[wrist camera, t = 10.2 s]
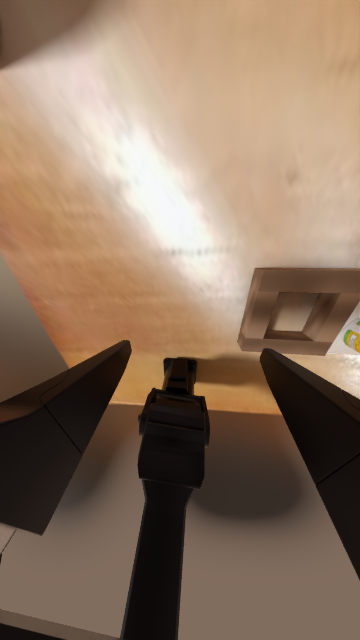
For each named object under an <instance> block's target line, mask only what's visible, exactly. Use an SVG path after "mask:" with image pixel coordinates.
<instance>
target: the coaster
mask: <svg viewBox="0 0 360 640" xmlns="http://www.w3.org/2000/svg"><path fill="white" fill-rule="evenodd" d="M358 318H360V302H359V303H358V305H357V306H356V308H355V309H354V311H353V312H352V314H351V316H350V317H349V319H348V320H347V322H346V323H345V325H344V326H343V328H342V330H341V331H340V333H339V334H338V336H337V337H336V339H335V340H334V342H333V344H332V345H331V347H330V348H329V350H328V351H327V353H329V354H347V355H360V353H358V352H357V351H355V350H353V349H352V348H350V347H348V346H347V345H345V344H344V343H343V342H342V340H341V334H342V331H343V330H344V328H345V327H346V326H347V325H348V324H349V323H351V322H352V321H354V320H356V319H358Z"/></svg>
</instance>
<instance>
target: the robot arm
mask: <svg viewBox="0 0 360 640" xmlns="http://www.w3.org/2000/svg"><path fill="white" fill-rule="evenodd" d="M131 352H132V349H131V345H130V341H129V340H123V341H121V342H119V343H117V344H115V345H113V346H111V347H109V348H108V349H106V350H104V351H102V352H100V353H98V354H96V355H94V356H93V357H91V358H89V359H87V360H85V361H83V362H81V363H79V364H77V365H76V366H74V367H72V368H70V369H68V370H66V371H64V372H62V373H60V374H59V375H57V376H55V377H53V378H51V379H49V380H47V381H45V382H43V383H40V384H38V385H37V386H34V387H32V388H30V389H28V390H26V391H24V392H22V393H19V394H17V395H15V396H13V397H11V398H9V399H7V400H5V401H2V402H1V403H0V562H1V557H2V552H3V550H4V549H5V547H6V546H7V544H8V542H9V541H10V539H11V538H12V536H13V535H14V533H15V531H19V532H24V533H29V534H34V535H40V536H42V535H43V533H44V531H45V529H46V528H47V526H48V524H49V522H50V520H51V518H52V516H53V514H54V511H55V510H56V508H57V506H58V504H59V501H60V500H61V497H62V496H63V494H64V492H65V490H66V488H67V486H68V484H69V482H70V480H71V478H72V476H73V474H74V472H75V470H76V468H77V466H78V464H79V461H80V460H81V458H82V456H83V453H84V451H85V449H86V447H87V445H88V443H89V441H90V439H91V437H92V435H93V433H94V431H95V429H96V427H97V425H98V423H99V421H100V420H101V418H102V415H103V413H104V411H105V410H106V408H107V406H108V404H109V402H110V400H111V398H112V396H113V394H114V392H115V390H116V388H117V386H118V384H119V382H120V380H121V378H122V375H123V373H124V371H125V369H126V366H127V363H128V360H129V358H130V355H131ZM163 363H164V376H165V377H164V382H163V386H162V390H160V389H156V388H152V391H151V392H150V393H149V394H148V397H147V400H146V403H145V405H144V407H143V409H142V410H141V412H140V414H139V416H138V422H139V424H140V425H139V436H143V437H142V442H141V446H140V451H139V456H138V473H139V478H140V479H142V484H143V490H144V495H145V505H144V510H143V515H142V521H141V526H140V532H139V538H138V543H137V548H136V554H135V559H134V565H133V571H132V576H131V582H130V587H129V592H128V597H127V603H126V608H125V614H124V619H123V625H122V630H121V636H120V638H116V637H112V636H108V635H104V634H99V633H96V632H91V631H87V630H83V629H79V628H75V627H71V626H67V625H63V624H59V623H54V622H50V621H46V620H42V619H38V618H34V617H30V616H25V615H22V614H18V613H14V612H9V611H5V610H1V609H0V640H178V626H179V610H180V595H181V579H182V564H183V547H184V532H185V516H186V507H187V505H188V503H189V501H190V499H191V497H192V494H193V492H194V490H195V489H200V487H201V484H202V481H203V479H204V458H205V447H206V448H207V447H208V444H209V436H210V424H209V416H208V411H207V406H206V401H205V397H204V396H196V395H194V384H195V380H196V367H197V362H196V361H195V360H182V359H164V361H163ZM260 363H261V365H262V368H263V371H264V374H265V377H266V380H267V383H268V385H269V387H270V389H271V391H272V394H273V396H274V398H275V400H276V402H277V404H278V406H279V409H280V411H281V413H282V415H283V417H284V419H285V421H286V424H287V426H288V428H289V430H290V432H291V434H292V436H293V438H294V441H295V442H296V445H297V447H298V449H299V451H300V453H301V456H302V458H303V460H304V462H305V464H306V466H307V468H308V471H309V473H310V475H311V477H312V479H313V481H314V483H315V484H316V488H317V490H318V492H319V494H320V496H321V499H322V501H323V503H324V505H325V507H326V509H327V511H328V514H329V516H330V518H331V520H332V522H333V524H334V526H335V528H336V530H337V533H338V535H339V537H340V539H341V541H342V543H343V546H344V548H345V550H346V552H347V554H348V556H349V558H350V560H351V562H352V565H353V567H354V569H355V571H356V573H357V575H358V578H359V580H360V399H358V398H356V397H355V396H353V395H351V394H349V393H348V392H346V391H344V390H341V388H339V387H337V386H335V385H334V384H332V383H330V382H328V381H327V380H325V379H323V378H322V377H320V376H318V375H316V374H315V373H313V372H311V371H309V370H308V369H306V368H304V367H303V366H301V365H299V364H297V363H296V362H294V361H292V360H290V359H289V358H287V357H285V356H283V355H282V354H280V353H278V352H277V351H275V350H273V349H271V348H264V349H263V350H262V353H261V356H260Z"/></svg>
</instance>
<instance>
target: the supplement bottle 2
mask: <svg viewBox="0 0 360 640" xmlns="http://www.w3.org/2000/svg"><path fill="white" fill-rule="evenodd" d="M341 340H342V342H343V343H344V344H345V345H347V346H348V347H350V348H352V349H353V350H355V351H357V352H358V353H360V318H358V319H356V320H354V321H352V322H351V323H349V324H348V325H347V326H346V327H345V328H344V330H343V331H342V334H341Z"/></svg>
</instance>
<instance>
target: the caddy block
mask: <svg viewBox="0 0 360 640" xmlns="http://www.w3.org/2000/svg"><path fill="white" fill-rule="evenodd" d="M279 292H304V293H321V294H320V296H319V298H318V300H317V302H316V304H315V306H314V308H313V310H312V312H311V314H310V316H309V318H308V320H307V322H306V324H305V326H304V328H303V330H302V332H290V331H268V330H266V329H267V326H268V323H269V320H270V317H271V314H272V311H273V308H274V306H275V303H276V300H277V297H278V294H279ZM359 302H360V269H320V268H255V270H254V274H253V278H252V282H251V287H250V291H249V295H248V299H247V303H246V307H245V312H244V316H243V320H242V324H241V328H240V333H239V337H238V341H237V342H238V344H239V346H240V348H241V350H242V351H249V352H262V350H263V349H264V348H271V349H273V350H275V351H277V352H278V353H284V354H302V355H319V356H325V354H326V353H327V351H328V350H329V348H330V347H331V345H332V344H333V342H334V340H335V339H336V337H337V336H338V334H339V333H340V331H341V330H342V328H343V326H344V325H345V323H346V322H347V320H348V319H349V317H350V316H351V314H352V312H353V311H354V309H355V308H356V306H357V305H358V303H359Z"/></svg>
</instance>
